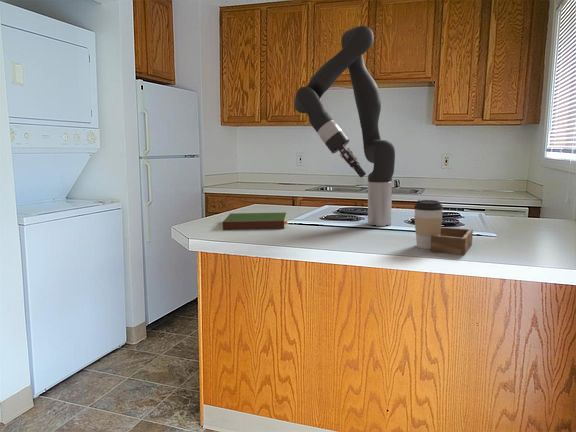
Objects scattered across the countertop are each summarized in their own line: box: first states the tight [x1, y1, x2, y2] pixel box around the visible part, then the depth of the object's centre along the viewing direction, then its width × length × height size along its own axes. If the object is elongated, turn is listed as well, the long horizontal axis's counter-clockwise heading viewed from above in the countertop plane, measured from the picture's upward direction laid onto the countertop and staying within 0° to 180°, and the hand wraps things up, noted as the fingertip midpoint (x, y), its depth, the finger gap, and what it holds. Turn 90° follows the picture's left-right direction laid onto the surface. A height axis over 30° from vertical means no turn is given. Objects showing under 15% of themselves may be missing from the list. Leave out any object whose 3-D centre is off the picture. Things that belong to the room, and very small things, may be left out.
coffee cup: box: [413, 199, 444, 250], centre depth 150 cm, size 9×9×15 cm
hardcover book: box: [222, 211, 288, 231], centre depth 194 cm, size 25×19×4 cm
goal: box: [430, 226, 474, 256], centre depth 148 cm, size 14×10×5 cm
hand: (363, 175), depth 161 cm, fingers closed
